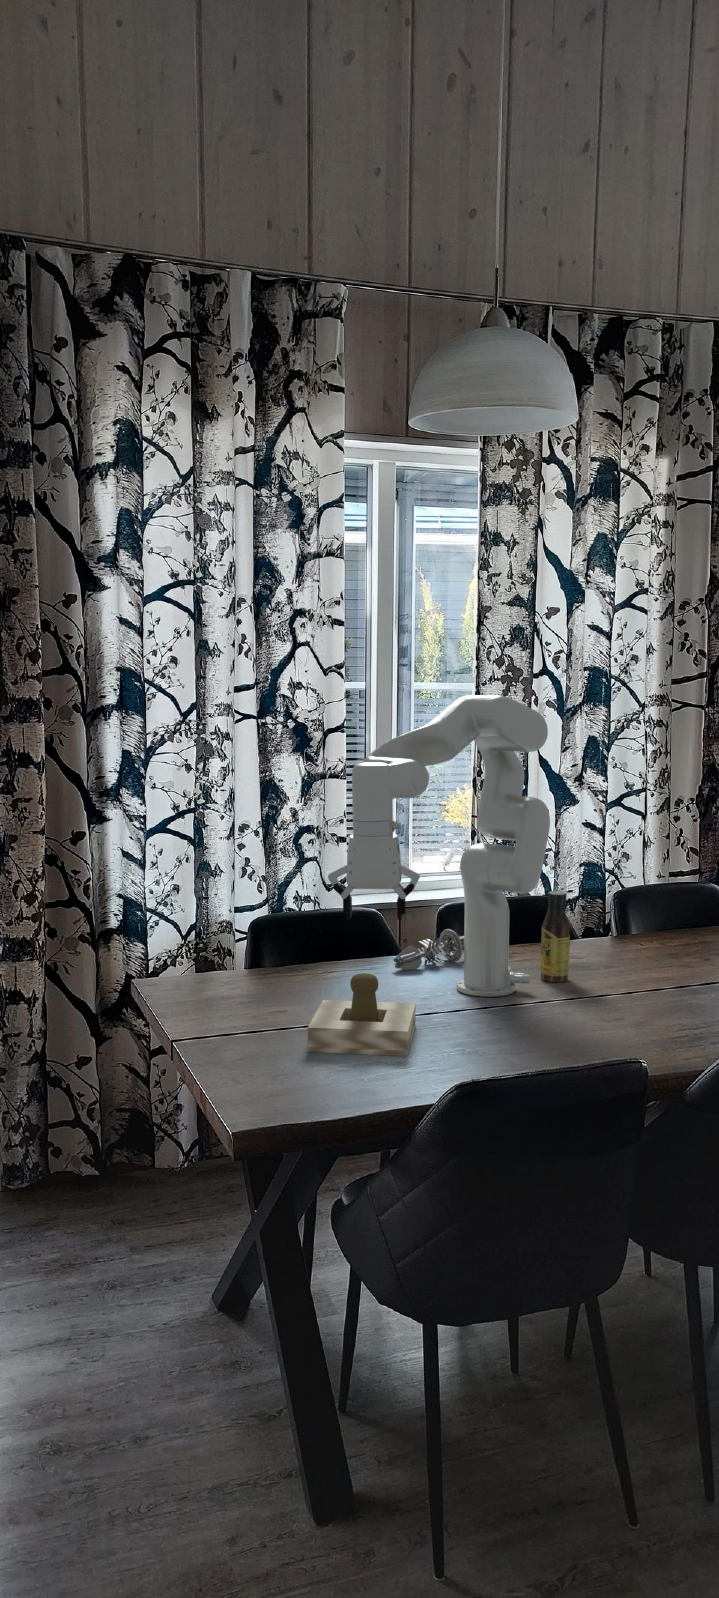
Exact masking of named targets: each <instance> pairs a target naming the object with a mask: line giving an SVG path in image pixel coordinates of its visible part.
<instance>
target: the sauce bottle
mask: <svg viewBox="0 0 719 1598" xmlns="http://www.w3.org/2000/svg"><path fill="white" fill-rule="evenodd" d="M547 899H548V904H547V912H546V913H545V916H544V917H545V918H544V920H543V922H542V925H541V939H540V940H541V942H540V966H539V967H540V968H539V969H540V970H539V971H540V978H541V980H543V981H545V982H548V983H564V982H567V980H568V978H569V976H568V975H569V972H570V971H569V969H570V967H569V966H570V946H571V944H570V943H571V942H570V941H571V939H570V938H571V934H570V933H571V932H570V931H571V930H570V929H571V928H570V927H571V924H570V919H569V918H568V917H567V914H566V900H567V892H565V891H563V890H562V891H561V890H550V891H549V892H548V893H547Z"/></svg>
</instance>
